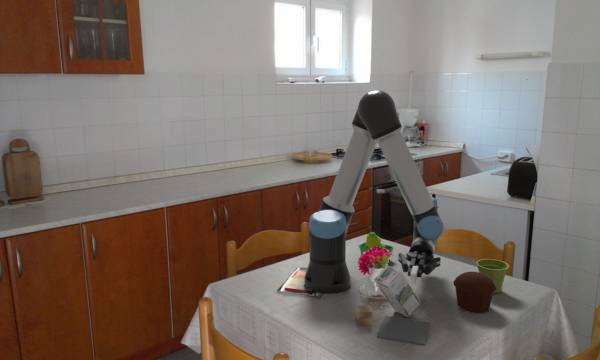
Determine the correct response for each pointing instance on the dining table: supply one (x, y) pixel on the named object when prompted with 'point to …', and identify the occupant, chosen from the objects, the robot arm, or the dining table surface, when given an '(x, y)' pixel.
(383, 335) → the rubber mat
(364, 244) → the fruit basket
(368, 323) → the oak block
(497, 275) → the plant pot
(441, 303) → the dining table surface
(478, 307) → the muffin
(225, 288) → the dining table surface
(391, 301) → the syrup box
